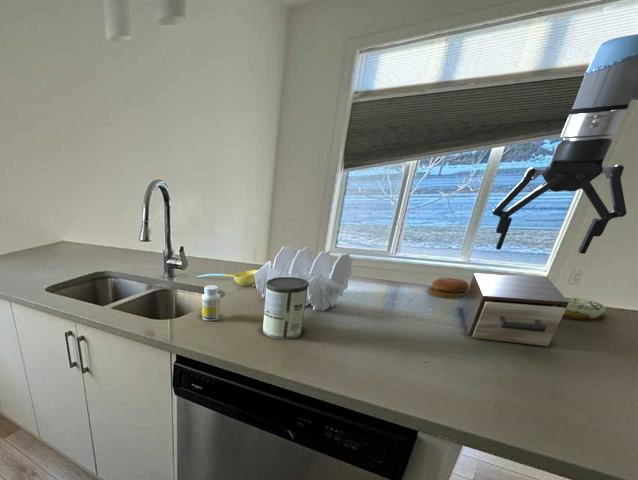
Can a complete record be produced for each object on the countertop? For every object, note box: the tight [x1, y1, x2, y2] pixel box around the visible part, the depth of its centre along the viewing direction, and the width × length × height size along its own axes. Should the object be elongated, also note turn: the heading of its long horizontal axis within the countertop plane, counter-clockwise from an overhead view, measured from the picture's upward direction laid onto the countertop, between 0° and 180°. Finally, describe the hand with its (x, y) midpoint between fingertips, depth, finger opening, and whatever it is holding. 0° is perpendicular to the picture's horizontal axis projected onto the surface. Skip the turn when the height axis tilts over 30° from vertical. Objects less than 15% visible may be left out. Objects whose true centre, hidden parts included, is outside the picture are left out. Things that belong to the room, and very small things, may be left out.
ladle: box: [197, 269, 259, 287], centre depth 154 cm, size 9×26×6 cm, turn 44°
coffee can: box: [262, 277, 309, 339], centre depth 107 cm, size 10×10×14 cm
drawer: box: [472, 299, 566, 347], centre depth 96 cm, size 24×13×9 cm, turn 149°
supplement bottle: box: [201, 284, 221, 322], centre depth 122 cm, size 5×5×10 cm
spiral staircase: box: [254, 244, 354, 311], centre depth 123 cm, size 18×18×25 cm
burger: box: [428, 276, 470, 299], centre depth 123 cm, size 10×9×5 cm
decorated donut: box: [562, 296, 607, 321], centre depth 104 cm, size 10×11×4 cm
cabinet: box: [461, 273, 569, 337], centre depth 100 cm, size 20×15×11 cm
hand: (538, 250), depth 89 cm, fingers open, 13 cm apart
